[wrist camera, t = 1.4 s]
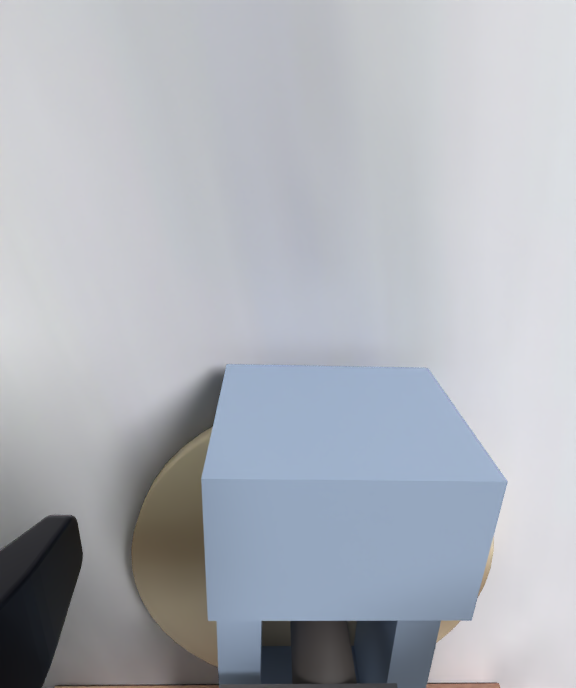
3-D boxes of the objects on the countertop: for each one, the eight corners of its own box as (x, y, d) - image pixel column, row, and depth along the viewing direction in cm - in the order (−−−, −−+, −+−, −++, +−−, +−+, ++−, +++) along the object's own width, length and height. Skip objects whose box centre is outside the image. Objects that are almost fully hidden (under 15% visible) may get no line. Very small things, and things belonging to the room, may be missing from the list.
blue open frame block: (379, 665, 15) (414, 837, 11) (232, 665, 15) (218, 841, 11) (427, 367, 11) (507, 481, 7) (226, 364, 11) (201, 478, 7)
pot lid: (453, 664, 16) (525, 872, 11) (151, 666, 15) (100, 882, 11) (519, 402, 12) (668, 557, 7) (119, 396, 12) (19, 555, 7)
